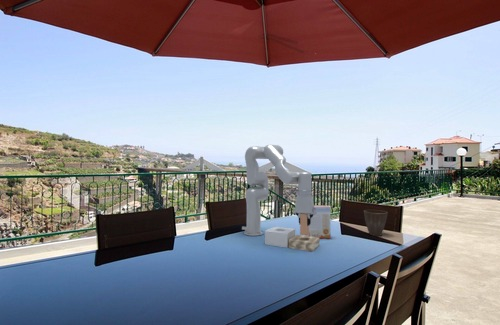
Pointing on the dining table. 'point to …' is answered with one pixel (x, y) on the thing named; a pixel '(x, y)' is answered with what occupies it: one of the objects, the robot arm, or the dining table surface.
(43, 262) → the dining table surface
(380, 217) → the plant pot
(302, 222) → the plug
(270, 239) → the upper socket
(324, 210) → the cracker box
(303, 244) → the lower socket
